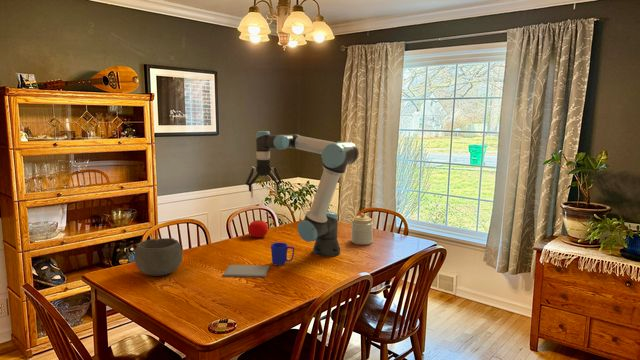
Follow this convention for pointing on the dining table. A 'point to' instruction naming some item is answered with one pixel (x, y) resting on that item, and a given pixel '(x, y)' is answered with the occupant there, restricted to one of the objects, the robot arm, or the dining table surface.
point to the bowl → (158, 256)
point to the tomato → (258, 228)
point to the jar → (362, 230)
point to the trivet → (246, 271)
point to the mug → (280, 253)
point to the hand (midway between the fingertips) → (264, 196)
